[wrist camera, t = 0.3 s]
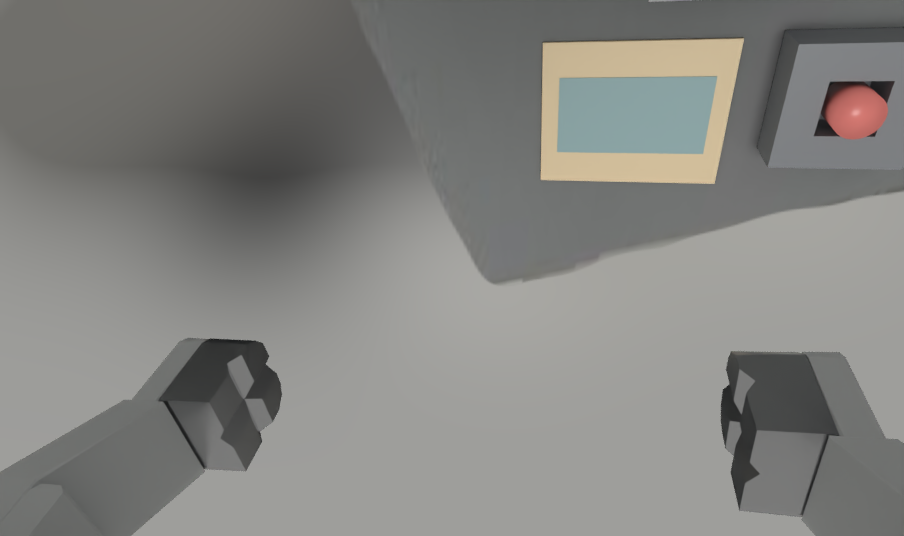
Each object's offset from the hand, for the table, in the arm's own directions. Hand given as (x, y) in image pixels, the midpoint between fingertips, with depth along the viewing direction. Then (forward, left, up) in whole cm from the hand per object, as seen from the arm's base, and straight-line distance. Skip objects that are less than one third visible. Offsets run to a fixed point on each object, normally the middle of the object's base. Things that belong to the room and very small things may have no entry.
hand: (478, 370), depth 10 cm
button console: (+11, +22, -46) cm, 52 cm away
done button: (+11, +22, -44) cm, 51 cm away
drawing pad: (+13, +6, -46) cm, 48 cm away
